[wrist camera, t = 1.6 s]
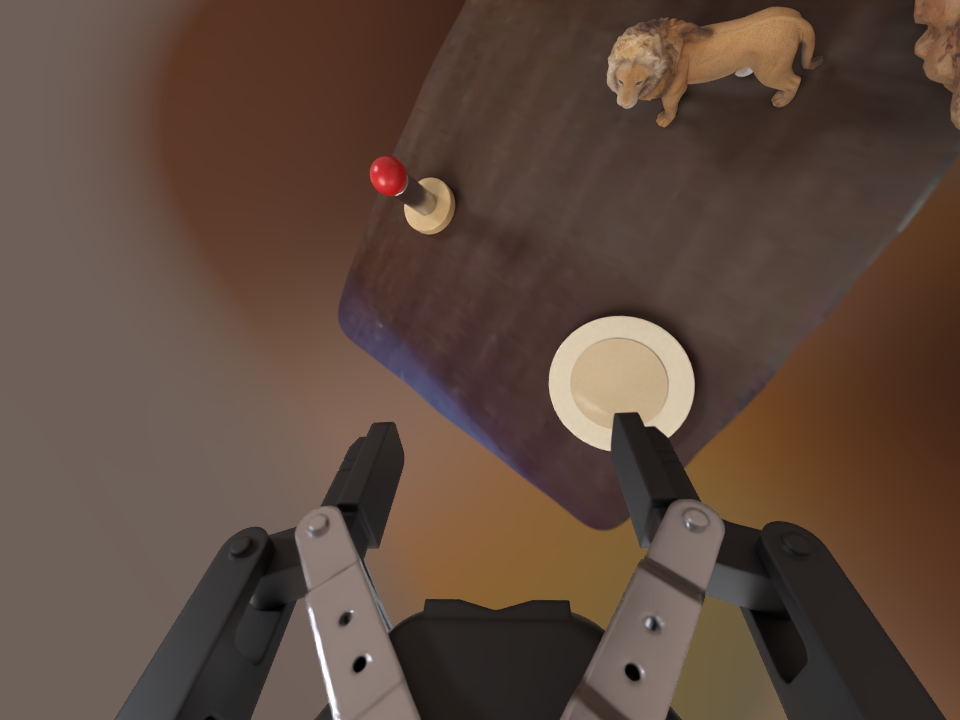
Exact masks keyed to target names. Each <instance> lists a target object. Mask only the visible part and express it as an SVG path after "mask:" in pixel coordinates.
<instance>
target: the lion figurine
mask: <svg viewBox="0 0 960 720" xmlns="http://www.w3.org/2000/svg"><path fill="white" fill-rule="evenodd" d="M799 43H802V58H801V65H802V67H803V68H804V69H815V68H816V67H817V66H819V65H820V64H821V63H822V61H823V57H822V56H818V57H815V58H812V55H813V52H814V46H815V34H814V30H813V28H812V26H811V25H810V23H809V22H807V21H806V20H804V19H803V18H802V17H801V14H800V13H799V12H798V11H796V10H794V9H791V8H785V7H770V8H767V9H764V10H762V11H759V12H757V13H754V14H752V15H749V16H746V17H743V18H740V19H735V20H731V21H727V22H722V23H716V24H711V25H706V26H702V27H699V26H698V25H696V24H694V23H693V22H688V23H686V22H685V21H684V20H680V21H679V20H678V19H677V18H673V19H671V20H669V18H668V17H667V18H664V19H663V18H659V19H658V20H655V19H654V20H650V21H649V22H647V23H645V22H640V23H638V24H637V25H636V26H633V27H630V28H628V29H627V30H626V31H625V32H624V34H623V36H619V37H618V40H617V42H616V43H615V45H614V46H613V49H612V52H611V55H610V56H609V58H608V64H609V68H608V72H607V85H608V86H609V87H610V88H611V90H612V91H614V92H616V94H617V95H618V97H617V103H618V104H619V105H621V106H623V108H626V109H628V108H631V107H633V106H634V105H635V104H636V103H637V100H638V99H641V100H651V99H653V98H654V99H658V98H662V101H663V105H664V108H665V110H664V111H662V112H661V113H660V114H659V115H658V119H657V123H658V125H659V126H662V127H666V126H668V125H669V124H670V123H671V122H672V120H673V119H674V118H675V115H676V112H677V110H678V102H679V100H680V98H681V96H682V95H683V94H684V92H685V91H686V89H687V85H688V84H697V83H704V82H709V81H713V80H716V79H719V78H723V77H725V76H728V75H730V74H732V73H734V72H735V75H737V76H739V77H744V76H747V75H749V74H751V73H752V72H753V73H754V74H755V76H756V77H757V79H758V80H759V81H760V82H761V83H762V84H764V85H765V86H767V87H771V88H775V89H778V90H779V91H778V92H776V93H775V95H774V96H773V97H772V99H771V101H772V102H773V105H774V106H776V107H782V106H785V105H787V104H788V103H789V102H790V101H791V100H792V99H793V98H794V96H795V94H796V92H797V90H798V87H799V84H800V81H801V77H800V76H797V75H795V74H794V73H793V70H792V63H793V60H794V57H795V54H796V52H797V49H798V44H799Z"/></svg>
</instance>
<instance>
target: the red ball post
mask: <svg viewBox="0 0 960 720" xmlns="http://www.w3.org/2000/svg"><path fill="white" fill-rule="evenodd" d="M370 177H371V181H372V184H373V185H374V187H375V188H376V189H377V190H378V191H379V192H380V193H382V194H384V195H388V196H394V197H396V198H397V199H399V200H400V201H402V202H403V203H405V216H406V219H407V221H408V223H409V224H410V225H411V226H412V227H413V228H414V229H416V230H418V231H419V232H421V233H424V234H435V233H438V232H440V231H442V230H443V229H444V228H445V227H446V226H447V225H448V224H449V223H450V221H451V219H452V217H453V215H454V211H455V198H454V195H453V192H452V191H451V189H450V188H449V187H448V186H447V185H446V184H445V183H444V182H442V181H441V180H439V179H437V178H425V179H422V180H420V181H419V182H417V181H416V180H415V179H414V178H413V177H411V176H410V175H409V174H408V173H406V169H405V167H404V166H403V164H402V163H401V162H400V161H399V160H398V159H396V158H395V157H392V156H382V157H379V158H377V159H376V160H375V161H374V162H373V164H372V166H371V169H370Z"/></svg>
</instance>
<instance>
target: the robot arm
mask: <svg viewBox="0 0 960 720" xmlns="http://www.w3.org/2000/svg"><path fill="white" fill-rule="evenodd" d="M611 456H612V461H613V464H614V467H615V470H616V474H617V477H618V480H619V483H620V486H621V489H622V492H623V495H624V498H625V502H626V505H627V508H628V511H629V514H630V517H631V520H632V523H633V526H634V530H635V533H636V535H637V539H638V542H639V545H640V548H649V549H648V551H647V554H646V556H645V558H644V559H641V560H640V562H639V563H638V565H637V567H636V569H635V571H634V573H633V576H632V577H631V579H630V582H629V584H628V586H627V588H626V590H625V592H624V594H623V596H622V598H621V600H620V602H619V604H618V606H617V608H616V610H615V612H614V615H613V617H612V619H611V621H610V623H609V625H608V627H607V629H606V631H605V630H604V629H602V628H601V627H600V626H598V625H597V624H596V623H594V622H592V621H591V620H589V619H587V618H585V617H583V616H581V615H578V614H575V613H572V612H571V610H570V602H569V601H567V600H532V601H528V602H525V603H521V604H518V605H514V606H510V607H507V608H504V609H500V610H492V609H489V608H485V607H482V606H479V605H476V604H473V603H469V602H466V601H463V600H459V599H457V600H454V599H426V600H425V606H424V611H422V612H419V613H416V614H414V615H412V616H410V617H408V618H406V619H405V620H403V621H402V622H400V623H399V624H398V625H397V626H395V627H394V628H392V625H391V623H390V621H389V619H388V617H387V614H386V612H385V610H384V608H383V605H382V603H381V600H380V598H379V595H378V593H377V590H376V588H375V585H374V583H373V581H372V578H371V576H370V573H369V571H368V568H367V566H366V563H365V561H364V557H365V554H366V551H367V549H368V548H369V549H373V548H379V546H380V543H381V539H382V536H383V533H384V529H385V526H386V522H387V520H388V516H389V512H390V510H391V506H392V503H393V499H394V496H395V493H396V490H397V486H398V483H399V480H400V476H401V473H402V470H403V466H404V451H403V447H402V444H401V441H400V438H399V434H398V431H397V428H396V425H395V423H394V422H380V423H373V424H372V425H371V427H370V430H369V432H368V434H367V436H366V437H359V439H357V440H356V442H355V443H353V444H352V445H351V447H349V450H348V451H347V454H346V456H345V458H344V461H343V462H342V464H341V466H340V468H339V471H338V472H337V474H336V476H335V478H334V480H333V482H332V484H331V486H330V488H329V490H328V492H327V494H326V497H325V499H324V500H323V503H322V505H321V506H320V507H319V508H316V509H314V510H313V511H311V512H309V513H308V514H307V515H306V516H305V517H304V518H303V519H302V520H301V521H300V522H299V524H298V526H297V527H294V528H291V529H288V530H285V531H282V532H279V533H275V534H272V535H268V534H267V532H266V531H265V530H264V529H263V528H260V527H250V528H246V529H244V530H242V531H240V532H238V533H236V534H235V535H233V536H232V537H231V538H229V539H228V540H227V541H226V542H225V544H224V545H223V546H222V547H221V549H220V550H219V552H218V553H217V555H216V557H215V558H214V560H213V561H212V563H211V565H210V566H209V568H208V569H207V571H206V573H205V574H204V576H203V577H202V579H201V581H200V582H199V584H198V586H197V587H196V589H195V590H194V592H193V594H192V595H191V597H190V599H189V600H188V602H187V604H186V605H185V607H184V608H183V610H182V611H181V613H180V614H179V616H178V618H177V619H176V621H175V623H174V624H173V626H172V628H171V629H170V631H169V632H168V634H167V636H166V637H165V639H164V640H163V642H162V643H161V645H160V647H159V648H158V650H157V652H156V653H155V655H154V657H153V658H152V660H151V661H150V663H149V664H148V666H147V668H146V669H145V671H144V673H143V674H142V676H141V677H140V679H139V681H138V682H137V684H136V686H135V687H134V689H133V690H132V692H131V693H130V695H129V697H128V698H127V700H126V701H125V703H124V705H123V706H122V708H121V710H120V711H119V713H118V714H117V716H116V718H115V719H114V720H251V717H252V714H253V711H254V709H255V707H256V704H257V702H258V699H259V696H260V694H261V691H262V689H263V686H264V684H265V681H266V678H267V676H268V673H269V670H270V668H271V666H272V663H273V660H274V658H275V655H276V653H277V650H278V648H279V645H280V642H281V640H282V637H283V635H284V632H285V630H286V627H287V624H288V622H289V619H290V617H291V614H292V612H293V609H294V606H295V604H296V601H297V599H300V598H303V597H305V602H306V606H307V611H308V615H309V619H310V623H311V628H312V631H313V636H314V640H315V645H316V649H317V653H318V657H319V661H320V666H321V670H322V674H323V679H324V683H325V687H326V692H327V696H328V699H329V703H328V704H327V705H326V707H325V708H324V709H323V710H322V711H321V712H320V714H319V715H318V716H317V717H316V718H315V719H314V720H682V719H681V718H680V717H679V716H678V715H677V713H676V712H675V711H674V710H673V709H672V708H671V706H670V704H671V701H672V698H673V694H674V692H675V689H676V686H677V682H678V679H679V676H680V673H681V670H682V667H683V664H684V661H685V658H686V655H687V652H688V648H689V645H690V642H691V639H692V636H693V633H694V630H695V627H696V624H697V621H698V618H699V614H700V611H701V608H702V605H703V602H704V598H705V595H708V596H711V597H714V598H717V599H720V600H723V601H726V602H729V603H732V604H735V605H739V606H740V608H741V611H742V613H743V615H744V618H745V620H746V623H747V625H748V627H749V629H750V632H751V634H752V637H753V639H754V641H755V643H756V646H757V648H758V650H759V653H760V655H761V657H762V660H763V662H764V664H765V667H766V669H767V671H768V674H769V676H770V678H771V681H772V683H773V685H774V688H775V690H776V692H777V695H778V697H779V699H780V702H781V704H782V706H783V709H784V711H785V713H786V716H787V718H788V720H946V718H945V717H944V715H943V714H942V712H941V711H940V710H939V709H938V707H937V705H936V704H935V702H934V701H933V700H932V698H931V697H930V695H929V694H928V692H927V691H926V689H925V688H924V687H923V685H922V684H921V682H920V681H919V679H918V678H917V677H916V675H915V674H914V672H913V671H912V669H911V668H910V667H909V665H908V664H907V662H906V661H905V659H904V658H903V656H902V655H901V654H900V652H899V651H898V649H897V648H896V646H895V645H894V644H893V642H892V641H891V640H890V638H889V637H888V635H887V633H886V632H885V631H884V629H883V628H882V627H881V625H880V624H879V622H878V621H877V619H876V618H875V616H874V615H873V613H872V612H871V611H870V609H869V608H868V606H867V605H866V603H865V602H864V600H863V599H862V598H861V596H860V595H859V593H858V592H857V590H856V589H855V588H854V586H853V585H852V583H851V582H850V581H849V579H848V578H847V576H846V575H845V573H844V572H843V570H842V569H841V568H840V566H839V565H838V563H837V562H836V560H835V559H834V558H833V556H832V554H831V553H830V552H829V550H828V549H827V547H826V546H825V545H824V544H823V543H822V541H820V539H819V538H817V537H816V536H815V535H814V534H812V533H811V532H809V531H808V530H806V529H804V528H802V527H800V526H798V525H795V524H792V523H788V522H781V521H775V522H770V523H768V524H766V525H765V526H764V528H763V529H762V530H758V529H754V528H750V527H746V526H742V525H738V524H734V523H731V522H728V521H726V520H723V519H722V518H721V517H720V516H719V515H718V514H717V513H716V511H714V510H713V509H712V508H711V507H709V506H708V505H706V504H704V503H702V502H701V500H700V499H699V497H698V495H697V493H696V491H695V489H694V487H693V485H692V483H691V482H690V480H689V478H688V476H687V474H686V472H685V470H684V468H683V466H682V464H681V462H679V459H678V457H677V455H676V453H675V451H674V450H673V447H672V445H671V443H670V441H669V439H668V438H667V436H666V435H665V434H663V433H662V432H661V431H660V430H659V429H658V428H657V427H656V426H646V427H645V425H644V423H643V421H642V419H641V417H640V415H639V413H638V412H623V413H615V414H614V418H613V427H612V437H611Z"/></svg>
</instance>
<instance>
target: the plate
mask: <svg viewBox="0 0 960 720" xmlns="http://www.w3.org/2000/svg"><path fill="white" fill-rule="evenodd" d="M549 391H550V396H551V400H552V404H553V406H554V409H555V411H556V413H557V415H558V416H559V418H560V419H561V421H562V422H563V424H564V425H565V426H566V427H567V428H568V429H569V430H570V431H571V432H572V433H573V434H574V435H575V436H576V437H578V438H579V439H581V440H582V441H584V442H586V443H588V444H590V445H592V446H594V447H597V448H600V449H603V450H607V451H611V437H612V427H613V418H614V414H615V413H623V412H638V413H639V415H640V417H641V419H642V421H643V423H644V425H645V427H646V426H656V427H657V428H658V429H659V430H660V431H661V432H662V433H663V434H665V435H666V436H667V438H669V437H670V436H671V435H672V434H674V433H675V432H676V430H677V429H678V428H679V427H680V426H681V425H682V423H683V422H684V421H685V419H686V417H687V415H688V413H689V411H690V409H691V406H692V403H693V399H694V393H695V380H694V372H693V369H692V365H691V362H690V360H689V358H688V356H687V354H686V352H685V351H684V349H683V347H682V346H681V345H680V344H679V342H678V341H677V340H676V339H675V338H674V337H673V336H672V335H671V334H670V333H668V332H667V331H666V330H664V329H663V328H661V327H660V326H658V325H656V324H654V323H652V322H649V321H647V320H644V319H640V318H636V317H630V316H610V317H604V318H600V319H597V320H594V321H591V322H589V323H587V324H585V325H583V326H581V327H579V328H578V329H577V330H575V331H574V332H573V333H572V334H570V335H569V336H568V337H567V338H566V339H565V341H564V342H563V343H562V344H561V346H560V347H559V349H558V351H557V352H556V354H555V356H554V359H553V361H552V365H551V368H550V374H549Z"/></svg>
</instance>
